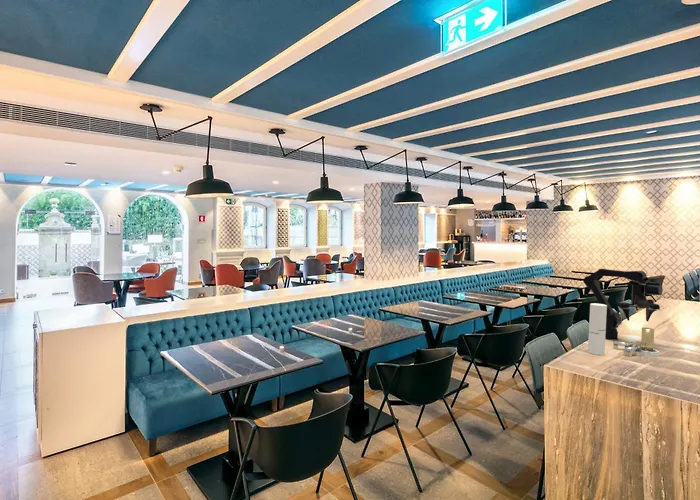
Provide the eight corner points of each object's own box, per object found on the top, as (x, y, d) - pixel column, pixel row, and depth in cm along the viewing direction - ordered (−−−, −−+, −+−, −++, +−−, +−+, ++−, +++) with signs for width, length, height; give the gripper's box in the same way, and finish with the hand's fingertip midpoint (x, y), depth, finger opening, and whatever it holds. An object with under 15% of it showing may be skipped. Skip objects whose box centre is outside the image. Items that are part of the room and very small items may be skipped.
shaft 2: (635, 353, 197) (635, 344, 197) (641, 355, 194) (642, 346, 194) (623, 354, 195) (623, 345, 194) (629, 356, 192) (629, 347, 191)
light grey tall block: (607, 355, 192) (609, 306, 191) (591, 354, 194) (593, 305, 193) (600, 351, 199) (603, 303, 198) (585, 350, 201) (587, 303, 200)
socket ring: (641, 355, 194) (641, 351, 194) (632, 350, 203) (632, 346, 203) (663, 357, 192) (663, 353, 192) (652, 351, 201) (652, 348, 201)
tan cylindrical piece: (637, 351, 200) (638, 327, 200) (648, 352, 200) (649, 327, 200) (645, 355, 195) (646, 329, 194) (656, 355, 195) (657, 330, 194)
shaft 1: (632, 350, 202) (632, 341, 202) (632, 351, 200) (632, 343, 200) (613, 347, 207) (613, 339, 207) (613, 348, 205) (613, 340, 205)
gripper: (625, 294, 209) (625, 322, 210) (665, 295, 205) (665, 324, 205) (616, 291, 220) (616, 319, 220) (654, 293, 216) (654, 320, 216)
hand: (637, 320), depth 215 cm, fingers open, 9 cm apart
